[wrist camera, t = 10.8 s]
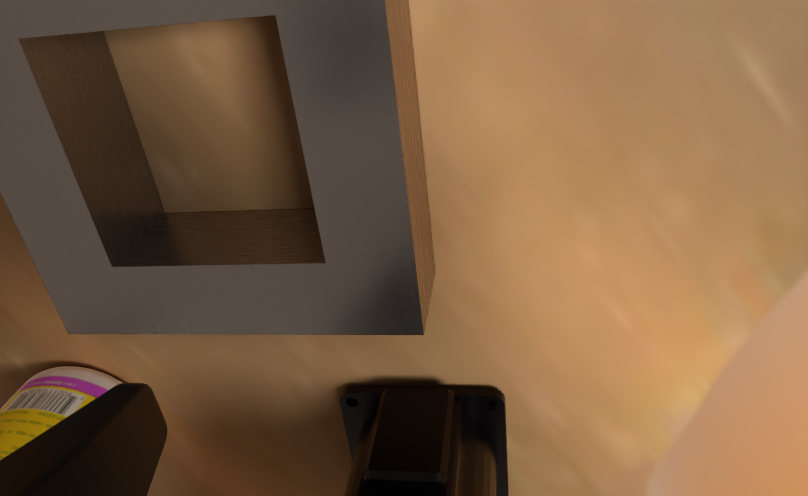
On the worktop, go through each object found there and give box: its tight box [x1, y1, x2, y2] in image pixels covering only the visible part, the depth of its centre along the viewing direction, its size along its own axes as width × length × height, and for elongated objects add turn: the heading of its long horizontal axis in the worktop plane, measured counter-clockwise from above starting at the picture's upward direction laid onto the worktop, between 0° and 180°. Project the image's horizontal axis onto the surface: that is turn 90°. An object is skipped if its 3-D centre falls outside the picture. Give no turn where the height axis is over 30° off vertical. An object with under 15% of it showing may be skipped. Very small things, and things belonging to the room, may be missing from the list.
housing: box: [0, 0, 435, 335], centre depth 18 cm, size 12×12×4 cm
